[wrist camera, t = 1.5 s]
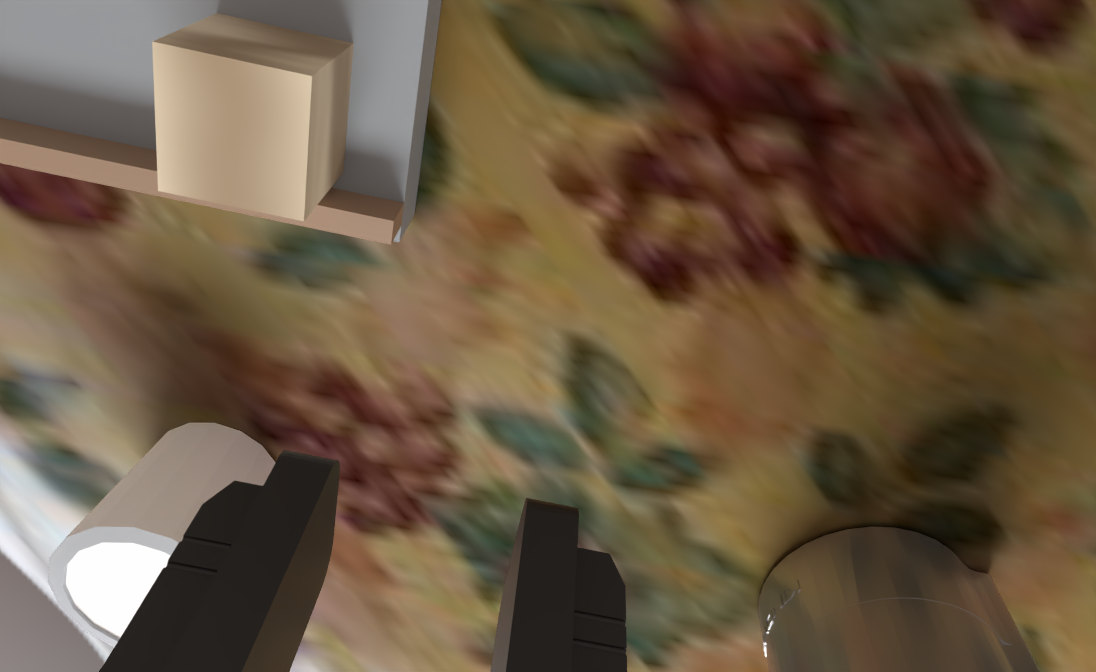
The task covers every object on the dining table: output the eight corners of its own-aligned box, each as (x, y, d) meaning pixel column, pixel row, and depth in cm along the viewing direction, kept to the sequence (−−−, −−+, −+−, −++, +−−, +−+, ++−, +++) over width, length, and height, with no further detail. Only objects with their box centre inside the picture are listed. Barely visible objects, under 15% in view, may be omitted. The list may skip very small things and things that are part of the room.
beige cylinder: (145, 520, 38) (59, 647, 32) (130, 397, 35) (30, 513, 29) (296, 544, 39) (238, 674, 33) (296, 424, 35) (230, 545, 29)
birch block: (353, 43, 25) (311, 76, 21) (343, 172, 27) (304, 221, 23) (216, 13, 24) (152, 41, 21) (216, 145, 27) (158, 190, 23)
